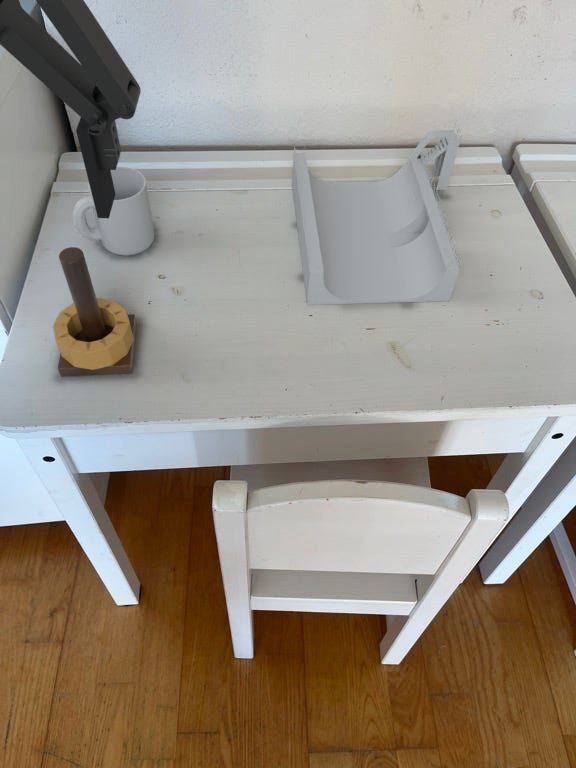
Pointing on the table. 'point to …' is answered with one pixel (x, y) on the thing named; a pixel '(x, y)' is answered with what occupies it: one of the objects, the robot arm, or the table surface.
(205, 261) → the table surface
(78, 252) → the stand
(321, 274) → the skate ramp
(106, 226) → the cup
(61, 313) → the tape roll
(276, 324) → the table surface
